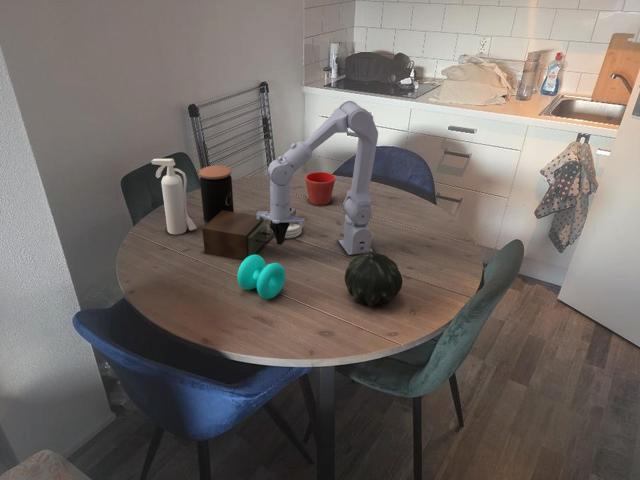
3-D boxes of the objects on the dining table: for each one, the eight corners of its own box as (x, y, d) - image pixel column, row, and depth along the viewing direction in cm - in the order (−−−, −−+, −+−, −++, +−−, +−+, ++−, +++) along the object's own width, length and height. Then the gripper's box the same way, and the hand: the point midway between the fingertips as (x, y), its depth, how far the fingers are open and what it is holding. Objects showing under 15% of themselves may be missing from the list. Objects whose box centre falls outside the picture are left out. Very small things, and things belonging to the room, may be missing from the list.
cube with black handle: (295, 221, 165) (296, 206, 162) (291, 226, 162) (291, 211, 159) (281, 218, 167) (281, 204, 164) (277, 224, 163) (277, 209, 161)
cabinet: (264, 240, 161) (263, 216, 157) (247, 260, 150) (246, 235, 146) (224, 233, 166) (222, 210, 161) (204, 252, 155) (202, 228, 150)
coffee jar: (232, 226, 170) (229, 176, 160) (201, 226, 170) (196, 176, 161) (235, 213, 179) (232, 165, 169) (206, 213, 179) (201, 165, 170)
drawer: (279, 241, 159) (278, 222, 155) (264, 260, 149) (263, 240, 145) (229, 233, 164) (228, 214, 160) (211, 250, 154) (210, 231, 150)
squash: (390, 259, 140) (363, 230, 130) (421, 288, 128) (393, 259, 119) (354, 294, 142) (324, 268, 132) (381, 326, 130) (350, 300, 121)
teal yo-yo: (260, 278, 142) (259, 247, 137) (287, 290, 137) (287, 259, 131) (236, 293, 136) (234, 262, 130) (263, 307, 130) (262, 274, 125)
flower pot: (324, 209, 181) (325, 184, 176) (299, 202, 187) (299, 177, 182) (339, 200, 188) (340, 175, 183) (315, 193, 194) (316, 169, 189)
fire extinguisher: (192, 237, 163) (183, 164, 150) (159, 233, 166) (147, 161, 153) (200, 228, 169) (192, 157, 156) (168, 224, 172) (158, 154, 158)
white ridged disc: (267, 236, 163) (267, 227, 162) (277, 223, 172) (276, 214, 170) (297, 240, 161) (297, 231, 159) (305, 227, 169) (305, 218, 167)
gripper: (251, 203, 143) (253, 245, 150) (299, 210, 139) (298, 253, 146) (261, 194, 149) (262, 234, 156) (307, 201, 144) (306, 242, 151)
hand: (280, 243), depth 151 cm, fingers closed
